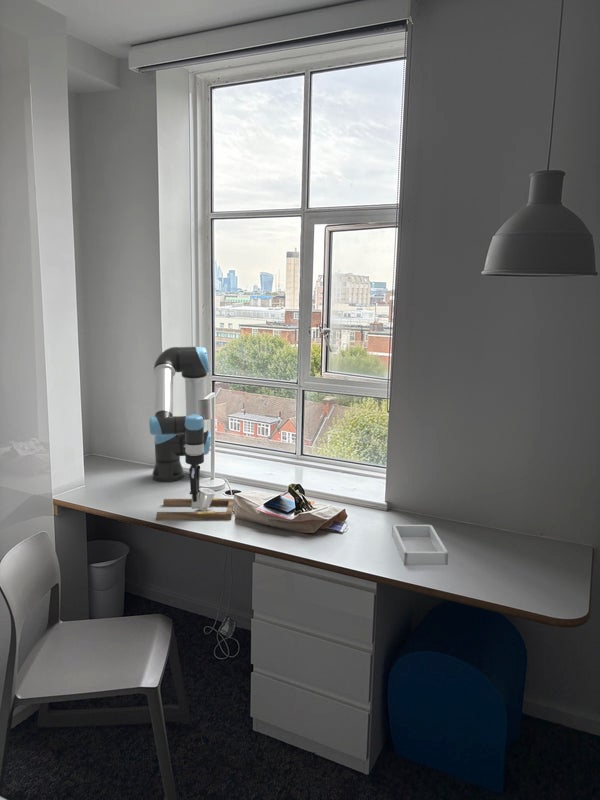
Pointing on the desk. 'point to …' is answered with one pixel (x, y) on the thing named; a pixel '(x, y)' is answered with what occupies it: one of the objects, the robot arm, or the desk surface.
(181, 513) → the channel
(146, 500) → the desk surface
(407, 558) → the tray
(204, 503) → the cup
